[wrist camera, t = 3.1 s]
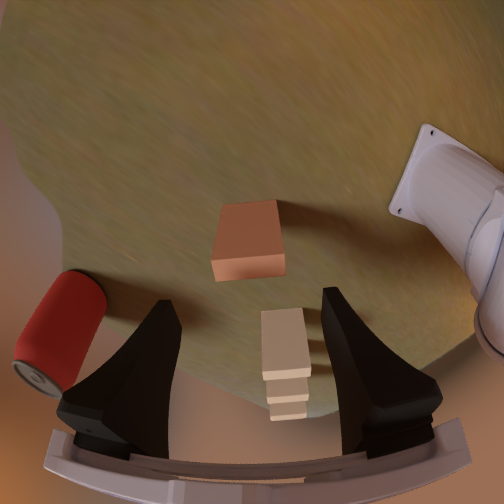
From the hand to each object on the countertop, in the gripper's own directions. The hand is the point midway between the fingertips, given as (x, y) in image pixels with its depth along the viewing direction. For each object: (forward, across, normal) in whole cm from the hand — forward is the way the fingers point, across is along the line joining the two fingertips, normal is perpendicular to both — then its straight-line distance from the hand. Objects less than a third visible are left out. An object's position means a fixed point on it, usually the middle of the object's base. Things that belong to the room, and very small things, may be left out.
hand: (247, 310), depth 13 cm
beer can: (+10, +19, +7) cm, 23 cm away
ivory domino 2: (+10, -2, +16) cm, 19 cm away
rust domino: (+10, 0, 0) cm, 10 cm away
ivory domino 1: (+10, -2, +12) cm, 15 cm away
